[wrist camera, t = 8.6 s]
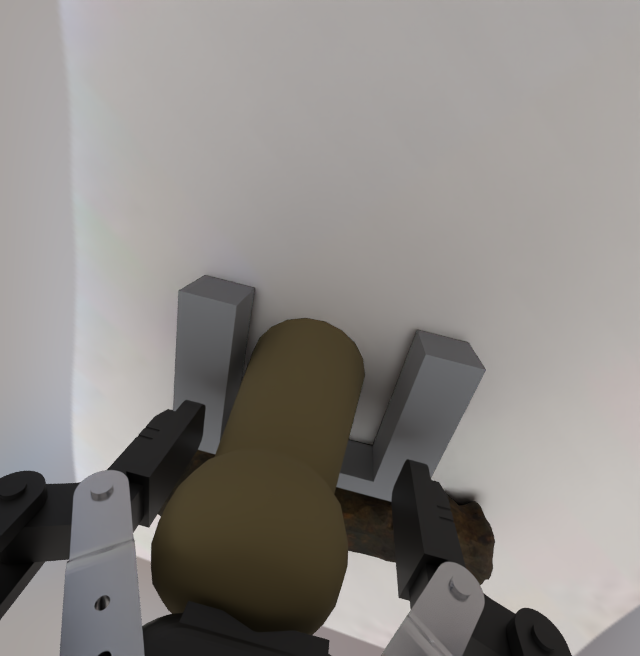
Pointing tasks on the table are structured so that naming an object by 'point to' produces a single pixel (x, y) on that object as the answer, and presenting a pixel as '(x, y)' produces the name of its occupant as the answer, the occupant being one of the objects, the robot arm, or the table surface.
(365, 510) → the dark brown long rod
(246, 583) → the olive flared cylinder
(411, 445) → the u-shaped block
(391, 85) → the table surface
